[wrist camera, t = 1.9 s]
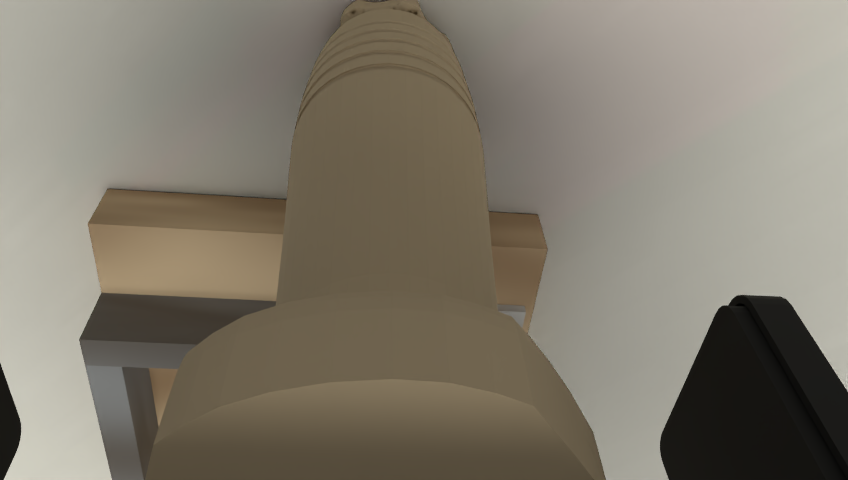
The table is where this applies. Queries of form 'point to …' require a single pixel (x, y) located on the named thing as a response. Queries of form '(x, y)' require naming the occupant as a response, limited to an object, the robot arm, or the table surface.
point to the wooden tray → (211, 295)
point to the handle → (378, 299)
